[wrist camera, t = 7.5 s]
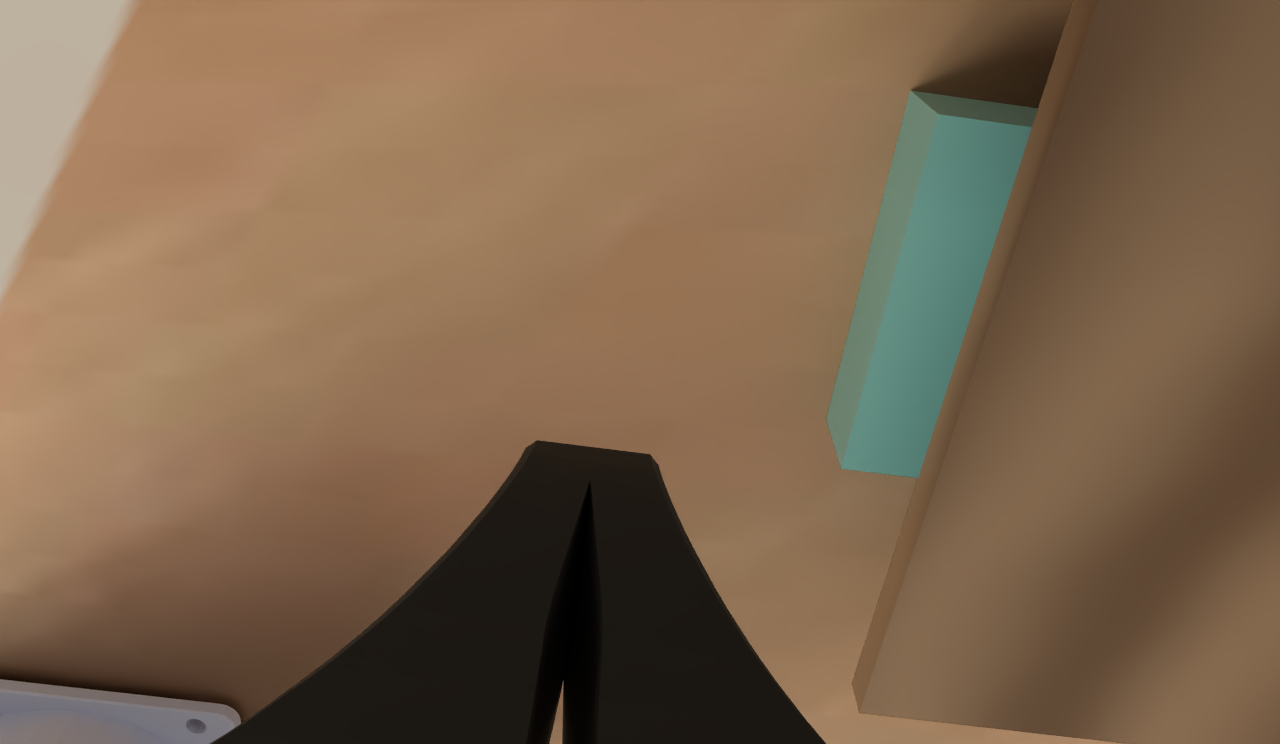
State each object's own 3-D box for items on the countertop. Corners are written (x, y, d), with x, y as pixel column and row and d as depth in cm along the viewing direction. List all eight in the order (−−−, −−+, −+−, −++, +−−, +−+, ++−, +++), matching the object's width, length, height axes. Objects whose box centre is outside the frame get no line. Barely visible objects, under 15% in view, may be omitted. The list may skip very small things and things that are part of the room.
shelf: (827, 582, 23) (859, 713, 19) (1052, -197, 15) (1172, -221, 12) (1233, 631, 23) (1338, 767, 19) (1640, -102, 16) (1927, -98, 12)
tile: (822, 408, 21) (841, 468, 19) (904, 85, 18) (937, 114, 16) (1259, 463, 21) (1326, 528, 19) (1417, 157, 18) (1517, 194, 16)
